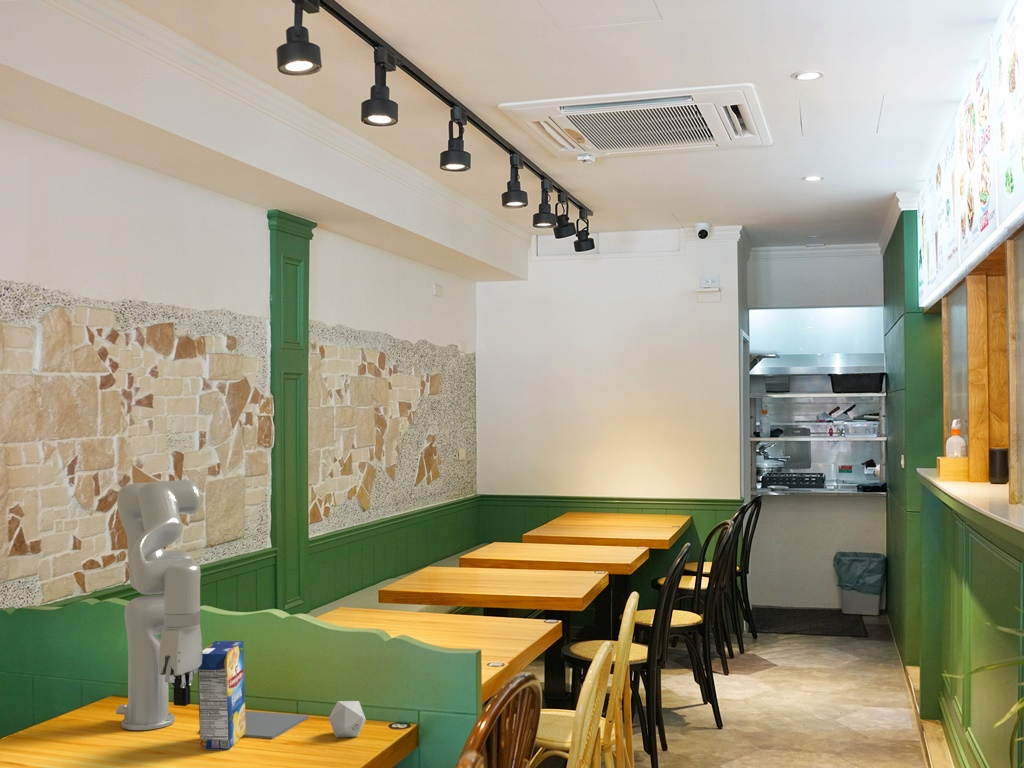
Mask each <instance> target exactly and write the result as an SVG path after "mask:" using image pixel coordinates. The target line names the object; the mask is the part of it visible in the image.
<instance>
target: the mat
mask: <svg viewBox="0 0 1024 768" xmlns="http://www.w3.org/2000/svg"><path fill="white" fill-rule="evenodd" d="M307 719H309V715H308V714H307V715H306V714H294V713H292V714H291V713H281V712H279V713H278V712H265V711H251V710H245V725H246V733H245V734H244V735H243V736H242V737H241V738H253V739H265V740H266V739H267V740H273V739H275V738H277V737H279V736H280V735H283V734H285V732H287V731H289V730H290V729H293V727H296V726H297V725H299V724H301V723H303V722H304V721H306V720H307ZM198 734H200V729H199V730H198Z"/></svg>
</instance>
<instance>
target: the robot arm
mask: <svg viewBox="0 0 1024 768" xmlns="http://www.w3.org/2000/svg"><path fill="white" fill-rule="evenodd" d="M201 497H202V496H201V492H200V488H199V487H198V485H197V484H196V483H195V482H194V480H189V479H187V480H186V479H182V480H181V479H179V480H178V479H177V480H157V481H156V480H155V481H148V482H137V483H131V484H126V485H123V486H122V487H121V488H120V489H119V490H118V493H117V497H116V498H117V499H116V501H117V502H116V503H117V504H116V505H117V511H118V516H119V520H120V522H121V525H122V526H123V529H124V531H125V532H124V533H125V534H126V540H127V561H128V576H129V577H128V579H129V584H130V586H131V587H132V588H133V589H134V590H136V591H137V592H138V593H139V594H142V595H143V596H138V597H136V598H133V599H131V600H130V601H128V603H127V604H126V605H125V608H124V623H125V629H126V635H127V652H128V653H127V657H128V658H127V659H128V660H127V661H128V663H127V665H128V666H127V667H128V668H127V671H128V673H127V681H128V682H127V686H128V687H127V692H128V693H127V694H128V695H127V700H128V701H127V704H119V705H118V707H117V709H116V711H115V714H116V715H123V717H124V718H123V719H122V720H121V725H120V727H121V728H123V729H125V730H126V731H127V730H128V731H149V730H155V729H161V728H165V727H167V726H170V725H172V724H174V722H175V721H176V716H175V714H173V713H171V712H169V693H170V692H169V686H170V685H169V683H171V687H172V688H173V705H174V706H179V707H186V706H188V705H190V704H191V686H192V684H193V678H194V675H195V674H196V673H198V670H199V668H198V667H200V666H201V664H202V650H203V639H202V638H203V636H202V629H201V577H202V573H201V567H200V565H199V564H198V563H197V561H196V559H194V558H193V556H192V554H191V553H190V552H188V551H185V550H168V551H166V550H165V549H164V548H166V547H167V546H170V545H171V544H173V543H175V542H176V541H177V540H178V539H179V538H180V537H182V536H181V535H182V533H183V530H184V529H183V527H184V526H183V522H182V518H181V515H194V514H196V513H197V512H198V511H199V509H200V508H201V503H202V498H201ZM159 635H161V636H160V638H159V637H158V636H159Z"/></svg>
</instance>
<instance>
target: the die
mask: <svg viewBox="0 0 1024 768" xmlns="http://www.w3.org/2000/svg"><path fill="white" fill-rule="evenodd" d="M328 721H329V723H330V726H331V728H332V731H333V733H334V736H335V738H358V737H359V735H360V733H361V731H362V728H363V726H364V725H365V722H366V721H367V718H366V716H365V713H364V711H363V708H362V705H361V703H360V701H359V700H343V701H342V700H341V701H340V700H339V701H337V702H336V704H335V705H334V707H333V709H332V711H331V712H330V714H329V716H328ZM357 736H358V737H357Z"/></svg>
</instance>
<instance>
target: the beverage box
mask: <svg viewBox="0 0 1024 768" xmlns="http://www.w3.org/2000/svg"><path fill="white" fill-rule="evenodd" d="M244 643H245V642H244V640H215V641H213V642H212V643H211V644H209V645H208V646H206V647H205V648H204V649H202V664H201V666H200V667H198V668H199V670H198V672H197V673H198V674H197V678H198V679H197V681H198V683H197V684H198V720H199V721H198V722H199V724H198V726H199V730H200V733H199V750H201V751H203V750H205V751H206V750H210V751H213V750H214V751H217V750H218V751H219V750H221V751H230V750H231V748H232V747H233V746H234V745H235V744H237V742H238V741H239V740H240V739H241V738H243V737H242V736H243V735H244V734H245V733H246V725H245V711H246V696H245V695H246V692H245V691H246V689H245V687H246V686H245V685H246V683H245V653H244V652H245V649H244V648H245V647H244V646H245V645H244Z"/></svg>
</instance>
